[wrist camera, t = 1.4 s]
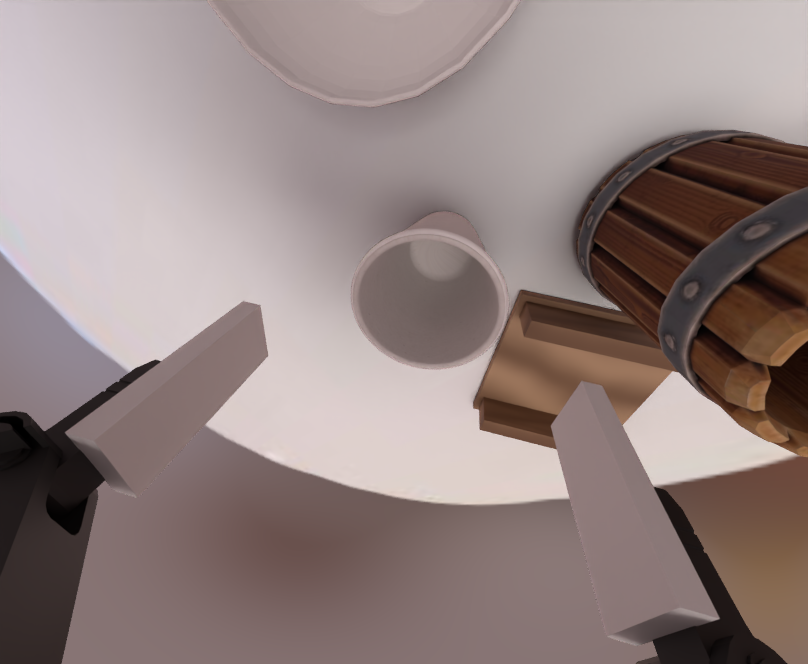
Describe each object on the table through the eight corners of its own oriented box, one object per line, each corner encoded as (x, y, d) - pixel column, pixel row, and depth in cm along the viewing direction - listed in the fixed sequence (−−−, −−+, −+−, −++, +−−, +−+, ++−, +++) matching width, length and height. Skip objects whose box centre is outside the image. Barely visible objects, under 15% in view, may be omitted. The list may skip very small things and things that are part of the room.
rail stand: (521, 289, 24) (527, 313, 21) (700, 328, 23) (734, 359, 20) (473, 402, 33) (473, 431, 29) (604, 435, 31) (618, 468, 28)
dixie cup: (428, 166, 21) (397, 191, 13) (521, 234, 22) (548, 297, 14) (374, 260, 25) (326, 322, 17) (453, 312, 27) (444, 392, 19)
